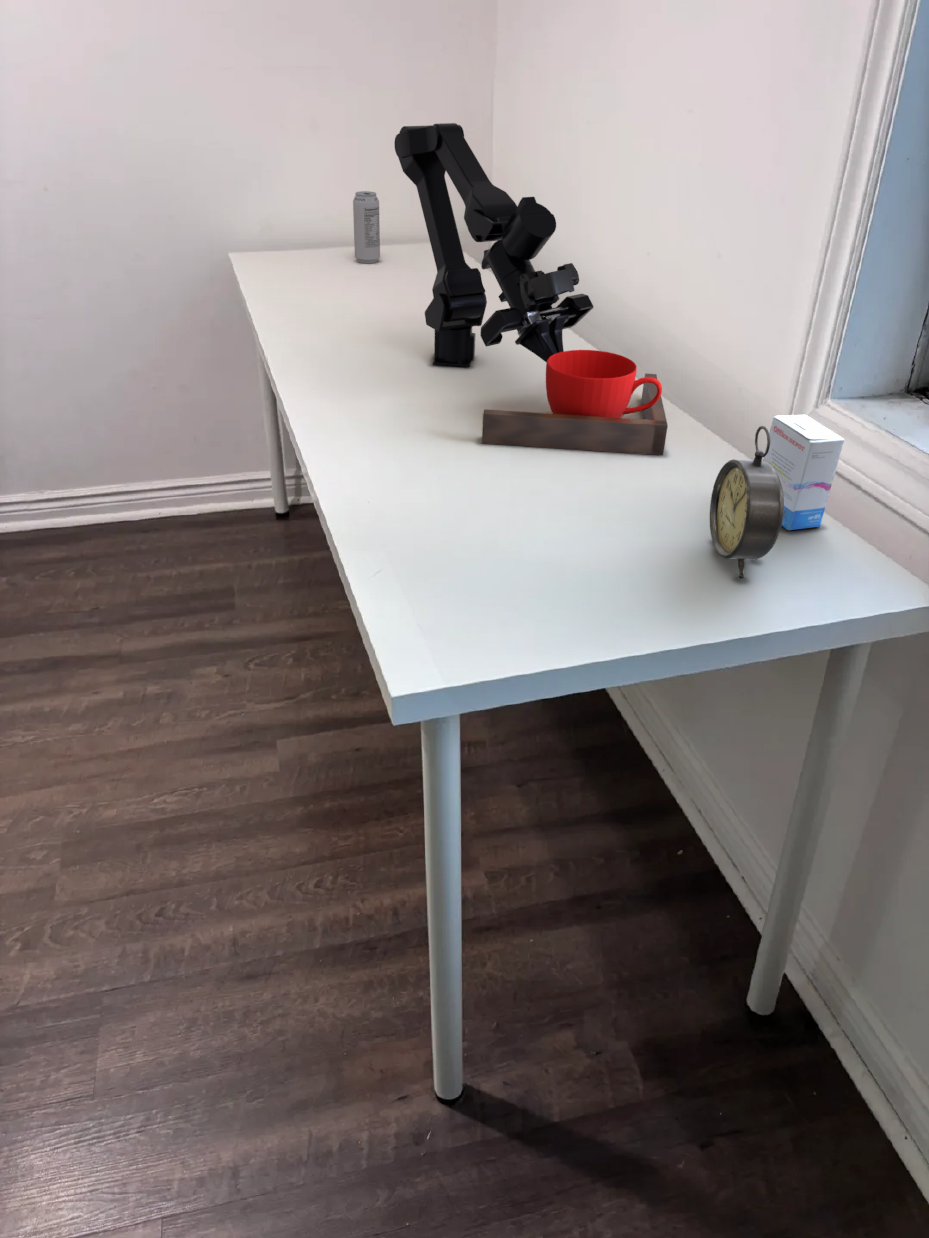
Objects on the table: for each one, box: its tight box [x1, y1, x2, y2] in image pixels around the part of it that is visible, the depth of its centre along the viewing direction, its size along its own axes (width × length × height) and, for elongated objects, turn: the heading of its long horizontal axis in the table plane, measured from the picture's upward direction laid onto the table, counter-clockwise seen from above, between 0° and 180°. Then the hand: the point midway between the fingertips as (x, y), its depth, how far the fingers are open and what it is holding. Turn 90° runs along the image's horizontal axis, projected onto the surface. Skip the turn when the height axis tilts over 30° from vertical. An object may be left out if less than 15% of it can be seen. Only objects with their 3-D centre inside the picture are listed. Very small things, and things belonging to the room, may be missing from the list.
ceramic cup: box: [545, 349, 663, 418], centre depth 138 cm, size 13×17×10 cm
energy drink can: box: [352, 190, 381, 264], centre depth 222 cm, size 6×6×15 cm
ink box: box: [762, 414, 845, 531], centre depth 116 cm, size 9×5×12 cm, turn 17°
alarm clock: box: [709, 425, 784, 580], centre depth 105 cm, size 11×5×16 cm, turn 5°
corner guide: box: [481, 372, 668, 456], centre depth 143 cm, size 26×22×4 cm
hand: (561, 369), depth 142 cm, fingers closed, pressing on ceramic cup
